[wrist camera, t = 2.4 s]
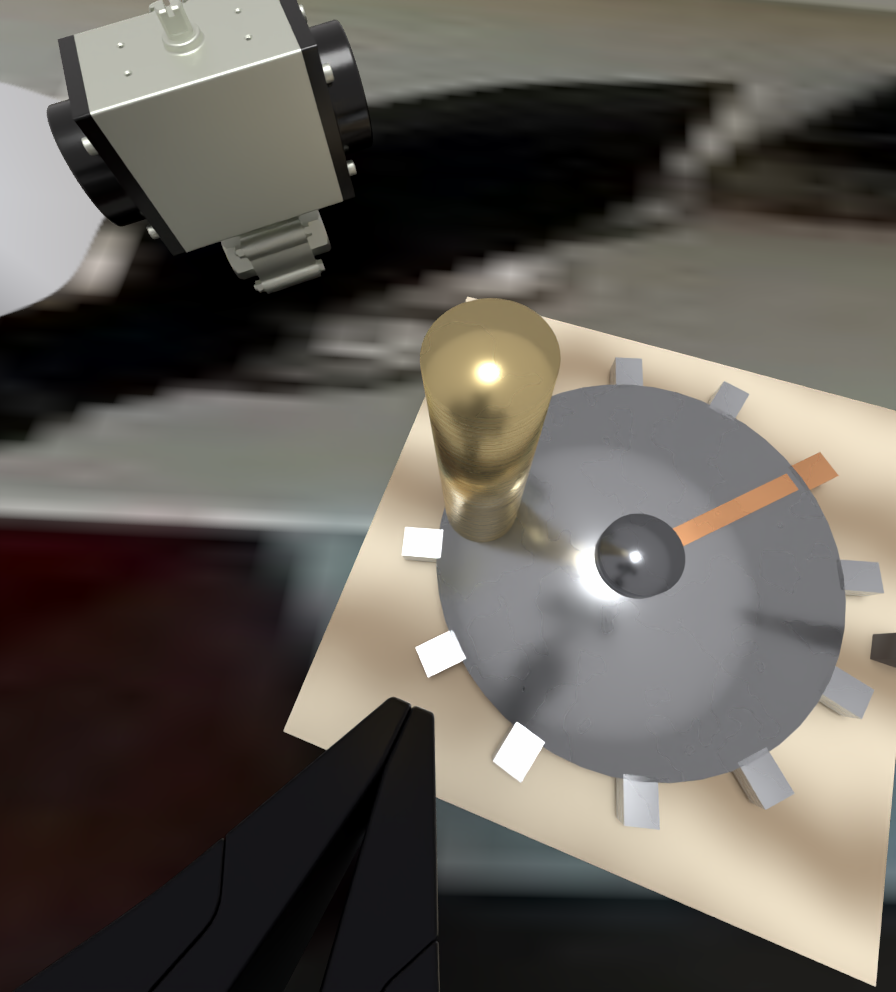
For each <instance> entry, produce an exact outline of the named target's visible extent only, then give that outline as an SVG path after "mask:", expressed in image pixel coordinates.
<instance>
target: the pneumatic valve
mask: <svg viewBox="0 0 896 992" xmlns="http://www.w3.org/2000/svg"><path fill="white" fill-rule="evenodd" d="M169 2H170V6H166V7H165V5H164V3H163V0H159V1H156V2H154V3H152V4H150V5H149V13H147V14H144V15H140V16H137V17H133V18H130V19H127V20H123V21H120V22H116V23H113V24H109V25H106V26H102V27H99V28H96V29H92V30H89V31H85V32H82V33H78V34H75V35H71V36H68V37H65V38H61V39H58V43H59V48H60V53H61V59H62V64H63V69H64V74H65V80H66V85H67V90H68V96H69V99H68V100H65V101H61V102H58V103H55V104H51V105H49V106H48V108H47V118H48V122H49V126H50V129H51V132H52V134H53V137H54V139H55V141H56V143H57V146H58V148H59V150H60V152H61V154H62V155H63V157H64V159H65V161H66V163H67V165H68V166H69V168H70V170H71V171H72V173H73V175H74V176H75V178H76V179H77V181H78V182H79V184H80V185H81V187H82V189H83V190H84V191H85V193H86V194H87V195H88V197H89V198H90V199H91V201H92V202H93V203H94V204H95V206H96V207H97V208H98V209H99V210H100V212H101V213H102V214H103V215H104V216H105V217H106V218H107V219H109V220H110V221H111V222H112V223H114V224H115V225H117V226H125V225H129V224H132V223H135V222H138V221H141V220H144V219H147V221H148V222H149V223H150V225H147V230H148V232H149V234H150V236H151V237H152V238H153V239H157V238H161V240H162V241H163V242H164V244H165V245H166V246H167V248H168V249H169V250H170V252H171V253H172V255H173V256H177V255H180V254H183V253H186V252H189V251H192V250H195V249H198V248H201V247H205V246H208V245H211V244H214V243H217V242H220V241H221V244H222V246H223V249H224V251H225V254H226V256H227V258H228V260H229V262H230V264H231V266H232V268H233V270H234V272H235V273H236V275H237V276H238V277H239V278H240V279H244V280H245V279H248V278H251V277H254V276H257V275H258V277H259V278H260V279H259V280H257V281H255V284H254V287H255V290H256V291H259V292H260V293H261V292H264V291H265V292H267V294H270V293H273V292H276V291H279V290H282V289H285V288H288V287H291V286H294V285H297V284H300V283H303V282H306V281H309V280H312V279H315V278H318V277H320V276H321V273H322V272H323V271H325V268H324V265H323V262H322V260H321V259H319V260H318V261H317V260H315V257H314V256H316V255H319V254H322V253H325V252H328V251H330V249H331V245H330V242H329V239H328V236H327V233H326V230H325V228H324V225H323V222H322V219H321V217H320V214H319V211H318V209H321V208H324V207H327V206H330V205H333V204H336V203H339V202H342V201H345V200H348V199H351V198H354V197H355V194H354V190H353V186H352V182H351V178H350V176H351V175H354V174H356V169H355V165H354V163H353V161H352V160H349V161H346V158H345V155H347V154H350V153H353V152H356V151H360V150H363V149H366V148H369V147H371V146H372V143H373V135H372V127H371V121H370V115H369V110H368V106H367V102H366V97H365V93H364V89H363V86H362V82H361V78H360V75H359V71H358V68H357V65H356V61H355V58H354V55H353V52H352V49H351V47H350V44H349V41H348V39H347V36H346V34H345V32H344V29H343V27H342V25H341V24H340V22H339V21H338V20H332V21H328V22H325V23H322V24H319V25H315V26H312V27H308V25H307V18H306V14H305V11H304V8H303V6H302V5H298V3H297V1H296V0H182V3H181V1H180V0H169ZM320 268H321V269H320Z"/></svg>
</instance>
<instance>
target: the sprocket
mask: <svg viewBox="0 0 896 992" xmlns="http://www.w3.org/2000/svg"><path fill="white" fill-rule="evenodd" d="M560 362H561V355H560V348H559V343H558V341H557V338H556V336H555V334H554V332H553V330H552V329H551V327H550V326H549V325H548V323H547V322H546V321H545V320H544V319H543V318H542V317H541V316H540V315H538V314H537V313H536V312H535V311H533V310H531V309H530V308H528V307H526V306H524V305H522V304H519V303H516V302H513V301H509V300H505V299H496V298H485V299H476V300H472V301H468V302H465V303H462V304H460V305H457V306H455V307H453V308H451V309H450V310H448V311H447V312H445V313H444V314H443V315H442V316H440V317H439V318H438V319H437V320H436V321H435V322H434V323H433V325H432V326H431V327H430V329H429V330H428V332H427V334H426V336H425V338H424V340H423V343H422V347H421V352H420V365H421V372H422V378H423V384H424V389H425V395H426V401H427V406H428V412H429V418H430V423H431V429H432V435H433V440H434V446H435V452H436V458H437V463H438V469H439V475H440V480H441V486H442V492H443V497H444V503H445V508H444V512H443V515H442V518H441V523H440V529H425V528H412V527H405V534H404V542H403V551H402V556H403V557H404V559H405V560H413V561H426V562H437V563H436V570H437V580H438V590H439V597H440V601H441V605H442V610H443V614H444V618H445V622H446V624H447V627H448V630H449V632H447V633H445V634H442V635H440V636H438V637H436V638H434V639H432V640H430V641H428V642H426V643H424V644H422V645H420V646H418V647H416V650H417V652H418V654H419V657H420V659H421V662H422V664H423V666H424V669H425V671H426V673H427V676H428V677H431V676H433V675H435V674H437V673H439V672H441V671H443V670H445V669H447V668H449V667H451V666H453V665H455V664H457V663H459V662H461V661H463V663H464V665H465V667H466V669H467V670H468V672H469V674H470V675H471V676H472V678H473V679H474V681H475V682H476V684H477V685H478V686H479V688H480V689H481V691H482V692H483V694H484V695H485V696H486V697H487V698H488V699H489V700H490V702H491V703H492V704H493V705H494V706H495V707H496V708H497V709H498V710H499V711H500V713H501V714H502V715H503V716H504V717H505V718H506V719H507V720H509V721H510V722H511V723H512V724H511V726H510V727H509V729H508V731H507V732H506V734H505V735H504V737H503V739H502V740H501V742H500V744H499V745H498V747H497V749H496V750H495V752H494V753H493V755H492V760H493V762H495V763H496V764H497V765H498V766H500V767H501V768H502V769H504V770H505V771H506V772H508V773H509V774H510V775H511V776H513V777H514V778H515V779H517V780H518V781H519V782H520V783H521V782H522V780H523V779H524V777H525V775H526V774H527V772H528V770H529V769H530V767H531V765H532V763H533V762H534V760H535V758H536V757H537V755H538V753H539V752H540V750H541V748H542V747H544V748H546V749H547V750H549V751H550V752H552V753H553V754H555V755H557V756H559V757H561V758H563V759H566V760H568V761H570V762H572V763H574V764H576V765H578V766H580V767H583V768H586V769H589V770H592V771H595V772H598V773H601V774H604V775H607V776H610V777H615V778H616V818H617V819H618V820H619V821H620V822H621V823H622V824H623V825H624V826H630V827H639V828H648V829H656V830H660V818H659V791H658V783H677V782H686V781H695V780H702V779H706V778H710V777H713V776H717V775H721V774H725V773H728V772H731V771H732V772H733V774H734V775H735V777H736V779H737V780H738V782H739V784H740V786H741V787H742V789H743V791H744V792H745V794H746V796H747V798H748V799H749V801H750V802H751V803H753V804H755V805H757V806H759V807H761V808H763V809H765V810H766V809H768V808H770V807H772V806H774V805H775V804H777V803H779V802H781V801H783V800H784V799H786V798H788V797H790V796H792V795H793V794H795V793H794V791H793V790H792V788H791V786H790V785H789V783H788V782H787V780H786V778H785V777H784V775H783V773H782V772H781V770H780V768H779V767H778V765H777V764H776V762H775V760H774V759H773V757H772V755H771V754H770V752H769V751H771V750H772V749H774V748H775V747H777V746H779V745H780V744H781V743H782V742H783V741H784V740H785V739H786V738H787V737H789V736H790V735H791V734H792V733H793V732H794V731H795V730H796V729H797V728H798V727H799V726H800V725H801V724H802V723H803V722H804V720H805V719H806V718H807V716H808V715H809V714H810V713H811V711H812V710H813V709H814V708H815V706H816V705H817V703H818V702H821V703H822V704H824V705H825V706H827V707H828V708H830V709H832V710H833V711H835V712H836V713H838V714H839V715H841V716H843V717H850V718H857V719H862V718H863V716H864V713H865V711H866V709H867V706H868V704H869V701H870V699H871V697H872V694H873V692H874V689H872V688H871V687H869V686H867V685H866V684H864V683H862V682H861V681H859V680H858V679H856V678H854V677H853V676H851V675H849V674H848V673H846V672H845V671H843V670H841V669H840V668H838V667H836V663H837V660H838V658H839V655H840V649H841V644H842V639H843V634H844V629H845V612H846V596H845V595H853V596H870V595H876V594H882V593H884V589H883V583H882V578H881V572H880V567H879V562H867V561H853V560H840V557H839V552H838V548H837V545H836V543H835V540H834V537H833V535H832V532H831V529H830V526H829V524H828V522H827V520H826V518H825V516H824V514H823V512H822V510H821V508H820V506H819V504H818V502H817V500H816V498H815V497H814V495H813V494H812V492H811V491H810V490H811V489H813V488H816V487H818V486H820V485H822V484H824V483H826V482H828V481H829V480H831V479H833V478H835V477H837V476H839V475H838V474H837V473H836V471H835V470H834V469H833V468H832V466H831V465H830V464H829V463H828V461H827V460H826V459H825V457H824V456H823V455H822V454H821V452H819V453H817V454H815V455H813V456H811V457H808V458H806V459H804V460H802V461H800V462H798V463H796V464H794V465H792V466H791V464H790V463H789V462H788V461H787V460H786V459H785V457H784V456H782V455H781V454H780V453H779V452H778V451H777V450H776V449H775V448H774V447H773V446H772V445H771V444H770V443H769V442H768V441H767V440H766V439H764V438H763V437H762V436H760V435H759V434H758V433H756V432H755V431H754V430H752V429H751V428H750V427H748V426H747V425H746V424H744V423H743V422H741V421H739V420H738V419H736V416H737V415H738V413H739V411H740V410H741V408H742V406H743V405H744V403H745V401H746V399H747V398H748V396H749V393H747V392H745V391H743V390H741V389H739V388H737V387H735V386H733V385H731V384H729V383H727V382H725V381H724V382H723V383H722V384H721V385H720V386H719V388H718V389H717V390H716V391H715V392H714V393H713V395H712V397H711V398H710V400H709V402H708V403H705V402H703V401H701V400H698V399H695V398H692V397H689V396H686V395H683V394H680V393H677V392H673V391H669V390H664V389H660V388H655V387H648V386H643V368H642V359H640V358H619V357H615V360H614V362H613V364H612V366H611V368H610V385H599V386H591V387H583V388H579V389H574V390H570V391H566V392H562V393H559V394H556V395H553V396H552V394H553V390H554V387H555V383H556V380H557V377H558V373H559V369H560Z"/></svg>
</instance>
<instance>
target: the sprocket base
mask: <svg viewBox="0 0 896 992" xmlns="http://www.w3.org/2000/svg"><path fill="white" fill-rule="evenodd" d="M472 300H476V299H474V298H471V297H467V299H466V302H468V301H472ZM541 317H542V316H541ZM542 318H543V319H544V320H545V321H546V322H547V323H548V325H549V326H550V327H551V329H552V330H553V332H554V334H555V336H556V338H557V341H558V343H559V348H560V355H561V362H560V369H559V373H558V377H557V380H556V383H555V387H554V390H553V394H552V396H553V395H556V394H559V393H562V392H566V391H570V390H574V389H579V388H583V387H591V386H599V385H610V368H611V366H612V364H613V362H614V360H615V357H619V358H640V359H642V368H643V386H648V387H655V388H660V389H664V390H669V391H673V392H677V393H680V394H683V395H686V396H689V397H692V398H695V399H698V400H701V401H703V402H705V403H708V402H709V400H710V398H711V397H712V395H713V393H714V392H715V391H716V390H717V389H718V388H719V386H720V385H721V384H722V383H723V382H724V381H725V382H727V383H729V384H731V385H733V386H735V387H737V388H739V389H741V390H743V391H745V392H747V393H749V396H748V398H747V399H746V401H745V403H744V405H743V406H742V408H741V410H740V411H739V413H738V415H737V416H736V419H738V420H739V421H741V422H743V423H744V424H746V425H747V426H748V427H750V428H751V429H752V430H754V431H755V432H756V433H758V434H759V435H760V436H762V437H763V438H764V439H766V440H767V441H768V442H769V443H770V444H771V445H772V446H773V447H774V448H775V449H776V450H777V451H778V452H779V453H780V454H781V455H782V456H784V457H785V459H786V460H787V461H788V462H789V463H790V464H791V466H792V465H794V464H796V463H798V462H800V461H802V460H804V459H806V458H808V457H811V456H813V455H815V454H817V453H819V452H821V454H822V455H823V456H824V457H825V459H826V460H827V461H828V463H829V464H830V465H831V466H832V468H833V469H834V470H835V471H836V473H837V474H838V475H839V476H837V477H835V478H833V479H831V480H829V481H828V482H826V483H824V484H822V485H820V486H818V487H816V488H813V489H811V490H810V491H811V492H812V494H813V495H814V497H815V498H816V500H817V502H818V504H819V506H820V508H821V510H822V512H823V514H824V516H825V518H826V520H827V522H828V524H829V526H830V529H831V532H832V535H833V537H834V540H835V543H836V545H837V548H838V552H839V557H840V560H853V561H867V562H879V567H880V572H881V578H882V583H883V589H884V593H882V594H876V595H870V596H853V595H845V596H846V612H845V629H844V634H843V639H842V644H841V649H840V655H839V658H838V660H837V663H836V667H838V668H840V669H841V670H843V671H845V672H846V673H848V674H849V675H851V676H853V677H854V678H856V679H858V680H859V681H861V682H862V683H864V684H866V685H867V686H869V687H871V688H872V689H874V692H873V694H872V697H871V699H870V701H869V704H868V706H867V709H866V711H865V713H864V716H863V718H862V719H857V718H850V717H843V716H841V715H839V714H838V713H836V712H835V711H833V710H832V709H830V708H828V707H827V706H825V705H824V704H822V703H821V702H818V703H817V705H816V706H815V708H814V709H813V710H812V711H811V713H810V714H809V715H808V716H807V718H806V719H805V720H804V722H803V723H802V724H801V725H800V726H799V727H798V728H797V729H796V730H795V731H794V732H793V733H792V734H791V735H790V736H789V737H787V738H786V739H785V740H784V741H783V742H782V743H781V744H780V745H779V746H777V747H775V748H774V749H772V750H771V751H769V752H770V754H771V755H772V757H773V759H774V760H775V762H776V764H777V765H778V767H779V768H780V770H781V772H782V773H783V775H784V777H785V778H786V780H787V782H788V783H789V785H790V786H791V788H792V790H793V791H794V793H795V794H793V795H792V796H790V797H788V798H786V799H784V800H783V801H781V802H779V803H777V804H775V805H774V806H772V807H770V808H768V809H766V810H765V809H763V808H761V807H759V806H757V805H755V804H753V803H751V802H750V801H749V799H748V798H747V796H746V794H745V792H744V791H743V789H742V787H741V786H740V784H739V782H738V780H737V779H736V777H735V775H734V774H733V772H732V771H731V772H728V773H725V774H721V775H717V776H713V777H710V778H706V779H702V780H695V781H686V782H677V783H658V791H659V818H660V830H656V829H648V828H639V827H630V826H624V825H623V824H622V823H621V822H620V821H619V820H618V819H617V818H616V778H615V777H610V776H607V775H604V774H601V773H598V772H595V771H592V770H589V769H586V768H583V767H580V766H578V765H576V764H574V763H572V762H570V761H568V760H566V759H563V758H561V757H559V756H557V755H555V754H553V753H552V752H550V751H549V750H547V749H546V748H544V747H542V748H541V750H540V752H539V753H538V755H537V757H536V758H535V760H534V762H533V763H532V765H531V767H530V769H529V770H528V772H527V774H526V775H525V777H524V779H523V780H522V782H521V783H520V782H519V781H518V780H517V779H515V778H514V777H513V776H511V775H510V774H509V773H508V772H506V771H505V770H504V769H502V768H501V767H500V766H498V765H497V764H496V763H495V762H493V760H492V755H493V753H494V752H495V750H496V749H497V747H498V745H499V744H500V742H501V740H502V739H503V737H504V735H505V734H506V732H507V731H508V729H509V727H510V726H511V724H512V723H511V722H510V721H509V720H507V719H506V718H505V717H504V716H503V715H502V714H501V713H500V711H499V710H498V709H497V708H496V707H495V706H494V705H493V704H492V703H491V702H490V700H489V699H488V698H487V697H486V696H485V695H484V694H483V692H482V691H481V689H480V688H479V686H478V685H477V684H476V682H475V681H474V679H473V678H472V676H471V675H470V674H469V672H468V670H467V669H466V667H465V665H464V663H463V661H461V662H459V663H457V664H455V665H453V666H451V667H449V668H447V669H445V670H443V671H441V672H439V673H437V674H435V675H433V676H431V677H428V676H427V673H426V671H425V669H424V666H423V664H422V662H421V659H420V657H419V654H418V652H417V650H416V647H418V646H420V645H422V644H424V643H426V642H428V641H430V640H432V639H434V638H436V637H438V636H440V635H442V634H445V633H447V632H449V630H448V627H447V624H446V622H445V618H444V614H443V610H442V605H441V601H440V597H439V590H438V580H437V570H436V563H437V562H426V561H413V560H405V559H404V557H403V556H402V551H403V542H404V534H405V527H412V528H425V529H440V523H441V518H442V515H443V512H444V508H445V503H444V497H443V492H442V486H441V480H440V475H439V469H438V463H437V458H436V452H435V446H434V440H433V435H432V429H431V423H430V418H429V412H428V406H427V401H426V396H425V398H424V401H423V403H422V405H421V408H420V410H419V412H418V415H417V417H416V420H415V422H414V424H413V427H412V429H411V431H410V434H409V436H408V438H407V441H406V443H405V445H404V448H403V450H402V453H401V455H400V457H399V460H398V462H397V464H396V467H395V469H394V471H393V474H392V476H391V478H390V481H389V483H388V486H387V488H386V490H385V493H384V495H383V497H382V500H381V502H380V504H379V507H378V509H377V511H376V514H375V516H374V518H373V521H372V523H371V526H370V528H369V530H368V533H367V535H366V537H365V540H364V542H363V544H362V547H361V549H360V551H359V554H358V556H357V559H356V561H355V563H354V566H353V568H352V570H351V573H350V575H349V577H348V580H347V582H346V584H345V587H344V589H343V592H342V594H341V596H340V599H339V601H338V603H337V606H336V608H335V610H334V613H333V615H332V617H331V620H330V622H329V625H328V627H327V629H326V632H325V634H324V636H323V639H322V641H321V643H320V646H319V648H318V650H317V653H316V655H315V658H314V660H313V662H312V665H311V667H310V669H309V672H308V674H307V676H306V679H305V681H304V683H303V686H302V688H301V691H300V693H299V695H298V698H297V700H296V702H295V705H294V707H293V709H292V712H291V714H290V716H289V719H288V721H287V724H286V726H285V728H284V732H286V733H288V734H291V735H293V736H295V737H298V738H300V739H302V740H305V741H307V742H309V743H312V744H314V745H316V746H319V747H321V748H323V749H325V750H327V749H328V748H330V747H331V746H332V745H333V744H334V743H336V742H337V741H338V740H339V739H340V738H342V737H343V736H344V735H345V734H346V733H348V732H349V731H350V730H351V729H352V728H353V727H355V726H356V725H357V724H358V723H359V722H361V721H362V720H363V719H364V718H365V717H367V716H368V715H369V714H370V713H371V712H373V711H374V710H375V709H376V708H377V707H379V706H380V705H381V704H382V703H383V702H384V701H386V700H387V699H388V698H390V697H396V698H399V699H401V700H404V701H406V702H409V703H410V704H411V706H412V707H413V706H418V707H421V708H423V709H426V710H428V711H431V712H432V713H433V714H434V719H435V773H436V797H437V798H439V799H441V800H444V801H446V802H448V803H451V804H453V805H455V806H458V807H460V808H462V809H465V810H467V811H469V812H472V813H474V814H476V815H479V816H481V817H483V818H486V819H488V820H490V821H493V822H495V823H497V824H500V825H502V826H504V827H506V828H509V829H511V830H513V831H516V832H518V833H520V834H523V835H525V836H527V837H530V838H532V839H534V840H537V841H539V842H541V843H544V844H546V845H548V846H551V847H553V848H555V849H558V850H560V851H562V852H564V853H567V854H569V855H571V856H574V857H576V858H578V859H581V860H583V861H585V862H588V863H590V864H592V865H595V866H597V867H599V868H602V869H604V870H606V871H609V872H611V873H613V874H616V875H618V876H620V877H622V878H625V879H627V880H629V881H632V882H634V883H636V884H639V885H641V886H643V887H646V888H648V889H650V890H653V891H655V892H657V893H660V894H662V895H664V896H667V897H669V898H671V899H674V900H676V901H678V902H680V903H683V904H685V905H687V906H690V907H692V908H694V909H697V910H699V911H701V912H704V913H706V914H708V915H711V916H713V917H715V918H718V919H720V920H722V921H725V922H727V923H729V924H732V925H734V926H736V927H738V928H741V929H743V930H745V931H748V932H750V933H752V934H755V935H757V936H759V937H762V938H764V939H766V940H769V941H771V942H773V943H776V944H778V945H780V946H783V947H785V948H787V949H790V950H792V951H794V952H797V953H799V954H801V955H803V956H806V957H808V958H810V959H813V960H815V961H817V962H820V963H822V964H824V965H827V966H829V967H831V968H834V969H836V970H838V971H841V972H843V973H845V974H848V975H850V976H852V977H855V978H857V979H859V980H861V981H864V982H866V983H868V984H871V985H873V986H875V987H876V976H877V965H878V953H879V942H880V930H881V918H882V907H883V895H884V884H885V872H886V860H887V849H888V837H889V826H890V814H891V803H892V791H893V779H894V768H895V756H896V411H894V410H891V409H887V408H883V407H879V406H876V405H872V404H868V403H864V402H861V401H857V400H853V399H849V398H846V397H842V396H838V395H834V394H831V393H827V392H823V391H819V390H816V389H812V388H808V387H804V386H801V385H797V384H793V383H789V382H786V381H782V380H778V379H774V378H771V377H767V376H763V375H759V374H756V373H752V372H748V371H744V370H741V369H737V368H733V367H729V366H726V365H722V364H718V363H714V362H711V361H707V360H703V359H699V358H696V357H692V356H688V355H684V354H681V353H677V352H673V351H669V350H666V349H662V348H658V347H654V346H651V345H647V344H643V343H639V342H636V341H632V340H628V339H624V338H621V337H617V336H613V335H609V334H606V333H602V332H598V331H594V330H591V329H587V328H583V327H579V326H576V325H572V324H568V323H564V322H561V321H557V320H553V319H549V318H546V317H542Z"/></svg>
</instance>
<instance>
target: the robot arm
mask: <svg viewBox="0 0 896 992" xmlns="http://www.w3.org/2000/svg"><path fill="white" fill-rule="evenodd" d="M362 839H363V841H362ZM361 841H362V844H361V848H360V851H359V855H358V858H357V862H356V865H355V869H354V872H353V876H352V879H351V883H350V887H349V890H348V894H347V897H346V901H345V904H344V908H343V911H342V915H341V918H340V922H339V925H338V929H337V932H336V936H335V939H334V943H333V946H332V950H331V953H330V957H329V960H328V964H327V967H326V971H325V974H324V978H323V981H322V985H321V988H320V992H440V979H439V944H438V942H437V939H438V886H437V830H436V773H435V719H434V714H433V713H432V712H431V711H428V710H426V709H423V708H421V707H418V706H413V707H412V706H411V704H410V703H409V702H406V701H404V700H401V699H399V698H396V697H390V698H388V699H387V700H386V701H384V702H383V703H382V704H381V705H380V706H379V707H377V708H376V709H375V710H374V711H373V712H371V713H370V714H369V715H368V716H367V717H365V718H364V719H363V720H362V721H361V722H359V723H358V724H357V725H356V726H355V727H353V728H352V729H351V730H350V731H349V732H348V733H346V734H345V735H344V736H343V737H342V738H340V739H339V740H338V741H337V742H336V743H334V744H333V745H332V746H331V747H330V748H328V749H327V750H326V751H325V752H324V753H322V754H321V755H320V756H319V757H318V758H317V759H315V760H314V761H313V762H312V763H311V764H309V765H308V766H307V767H306V768H305V769H303V770H302V771H301V772H300V773H299V774H297V775H296V776H295V777H294V778H293V779H291V780H290V781H289V782H288V783H287V784H286V785H284V786H283V787H282V788H281V789H280V790H278V791H277V792H276V793H275V794H274V795H272V796H271V797H270V798H269V799H268V800H266V801H265V802H264V803H263V804H262V805H261V806H259V807H258V808H257V809H256V810H255V811H253V812H252V813H251V814H250V815H249V816H247V817H246V818H245V819H244V820H243V821H241V822H240V823H239V824H238V825H237V826H235V827H234V828H233V829H232V830H231V831H230V832H228V833H227V834H226V836H225V840H224V839H223V838H222V839H220V840H218V841H217V842H216V843H215V844H214V845H212V846H211V847H210V848H209V849H208V850H207V851H205V852H204V853H203V854H202V855H201V856H199V857H198V858H197V859H196V860H194V861H193V862H192V863H191V864H189V865H188V866H187V867H186V868H184V869H183V870H182V871H181V872H179V873H178V874H177V875H176V876H174V877H173V878H172V879H171V880H169V881H168V882H167V883H166V884H164V885H163V886H162V887H160V888H159V889H158V890H156V891H155V892H154V893H152V894H151V895H149V896H148V897H147V898H145V899H144V900H142V901H141V902H140V903H138V904H137V905H136V906H134V907H133V908H131V909H130V910H129V911H127V912H126V913H125V914H123V915H122V916H120V917H119V918H117V919H116V920H115V921H113V922H112V923H110V924H109V925H107V926H106V927H104V928H103V929H102V930H100V931H99V932H97V933H96V934H94V935H93V936H91V937H90V938H89V939H87V940H86V941H84V942H83V943H81V944H80V945H78V946H77V947H76V948H74V949H73V950H71V951H70V952H68V953H67V954H65V955H64V956H63V957H61V958H60V959H58V960H57V961H55V962H54V963H52V964H51V965H50V966H48V967H47V968H45V969H44V970H42V971H41V972H39V973H38V974H36V975H35V976H34V977H32V978H31V979H29V980H28V981H26V982H25V983H23V984H22V985H21V986H19V987H18V988H16V989H15V990H13V991H12V992H283V990H284V989H285V987H286V985H287V983H288V981H289V979H290V977H291V975H292V973H293V971H294V969H295V968H296V966H297V964H298V962H299V960H300V958H301V956H302V954H303V952H304V950H305V948H306V947H307V945H308V943H309V941H310V939H311V937H312V935H313V933H314V931H315V929H316V927H317V926H318V924H319V922H320V920H321V918H322V916H323V914H324V912H325V910H326V908H327V906H328V905H329V903H330V901H331V899H332V897H333V895H334V893H335V891H336V889H337V887H338V886H339V884H340V882H341V880H342V878H343V876H344V874H345V872H346V870H347V868H348V866H349V865H350V863H351V861H352V859H353V857H354V855H355V853H356V851H357V849H358V847H359V845H360V843H361Z"/></svg>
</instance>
